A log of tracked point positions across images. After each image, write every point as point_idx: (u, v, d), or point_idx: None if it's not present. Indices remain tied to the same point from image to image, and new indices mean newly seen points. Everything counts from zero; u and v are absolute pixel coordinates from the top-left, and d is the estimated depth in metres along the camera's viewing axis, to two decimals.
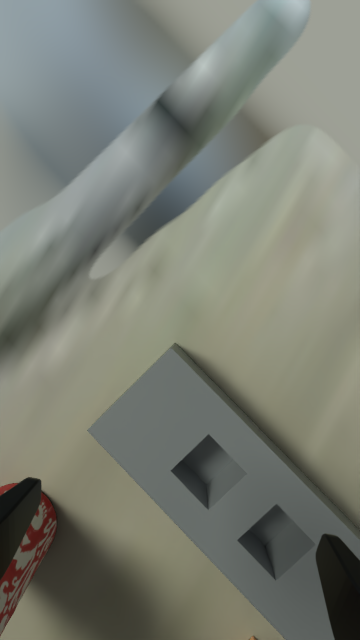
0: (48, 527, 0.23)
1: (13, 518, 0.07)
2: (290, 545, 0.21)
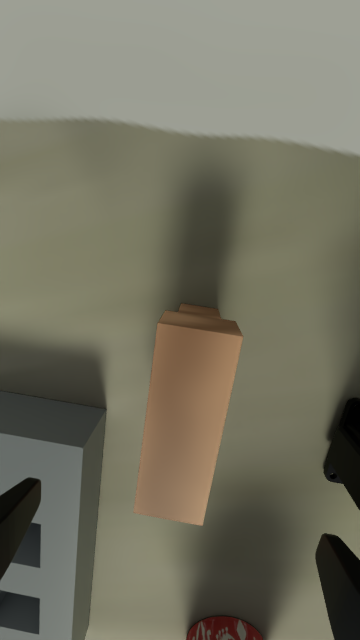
0: None
1: (13, 518, 0.07)
2: None
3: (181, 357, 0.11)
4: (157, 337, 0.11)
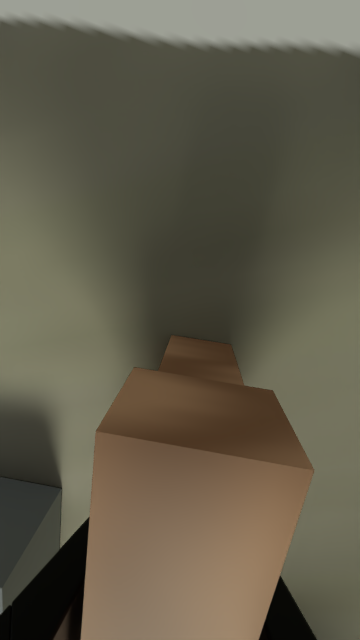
0: None
1: None
2: None
3: (158, 507, 0.05)
4: (97, 464, 0.04)
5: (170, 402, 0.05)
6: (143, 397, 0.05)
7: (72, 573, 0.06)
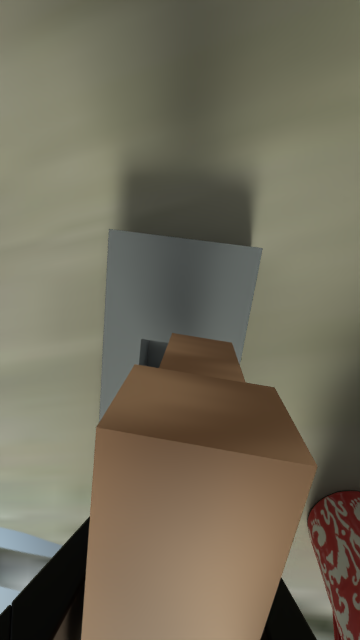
0: (326, 515, 0.22)
1: None
2: None
3: (160, 504, 0.04)
4: (97, 460, 0.04)
5: (171, 399, 0.05)
6: (144, 394, 0.05)
7: (72, 573, 0.06)
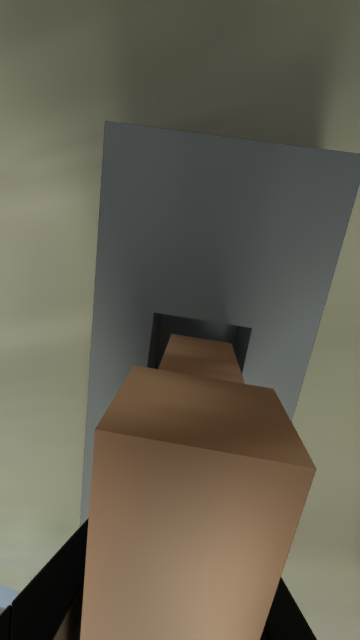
0: None
1: None
2: None
3: (158, 506, 0.04)
4: (96, 462, 0.04)
5: (170, 400, 0.05)
6: (143, 395, 0.05)
7: (72, 573, 0.06)
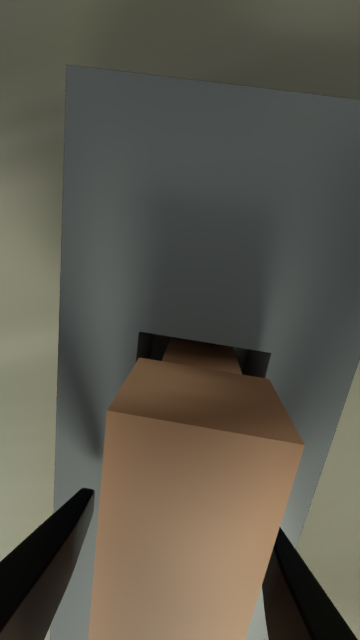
0: None
1: (76, 530, 0.07)
2: None
3: (163, 481, 0.05)
4: (107, 441, 0.05)
5: (174, 387, 0.06)
6: (148, 383, 0.06)
7: (31, 565, 0.06)
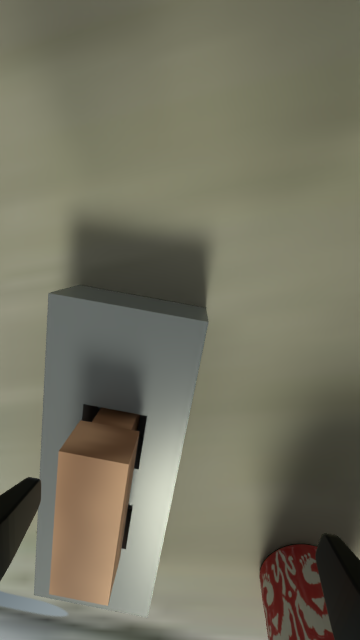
0: (276, 571, 0.22)
1: (13, 518, 0.07)
2: None
3: (80, 477, 0.13)
4: (59, 462, 0.13)
5: (89, 438, 0.14)
6: (79, 436, 0.14)
7: None
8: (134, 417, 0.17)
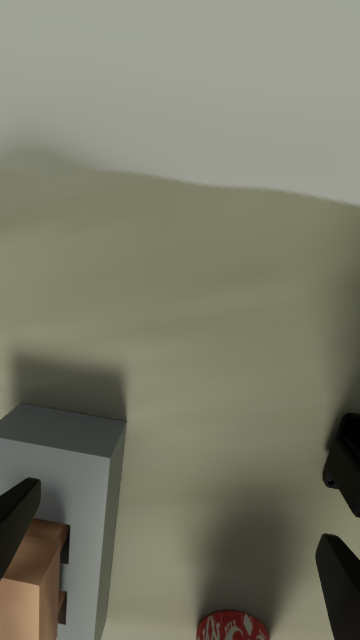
0: (205, 636, 0.25)
1: (13, 518, 0.07)
2: None
3: (3, 592, 0.17)
4: None
5: (14, 556, 0.17)
6: None
7: None
8: None
